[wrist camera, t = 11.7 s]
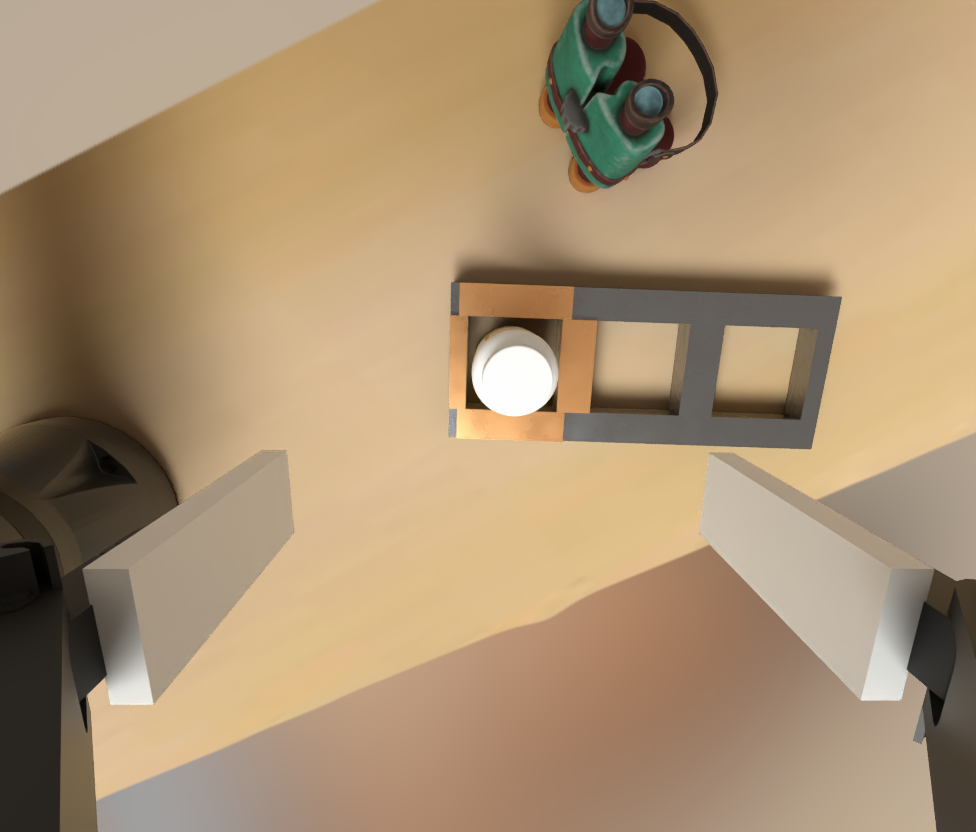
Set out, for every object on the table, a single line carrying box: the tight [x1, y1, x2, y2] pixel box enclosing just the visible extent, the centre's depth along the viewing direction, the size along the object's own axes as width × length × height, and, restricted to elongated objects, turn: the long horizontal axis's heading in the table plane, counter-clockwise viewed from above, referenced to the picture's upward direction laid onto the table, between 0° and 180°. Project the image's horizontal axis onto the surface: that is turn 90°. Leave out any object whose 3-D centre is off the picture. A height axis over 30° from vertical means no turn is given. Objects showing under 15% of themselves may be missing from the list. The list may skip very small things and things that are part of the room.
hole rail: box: [449, 282, 842, 449], centre depth 34 cm, size 27×11×2 cm, turn 88°
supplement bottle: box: [472, 326, 559, 416], centre depth 30 cm, size 5×5×10 cm
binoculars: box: [539, 0, 718, 193], centre depth 27 cm, size 9×11×10 cm
